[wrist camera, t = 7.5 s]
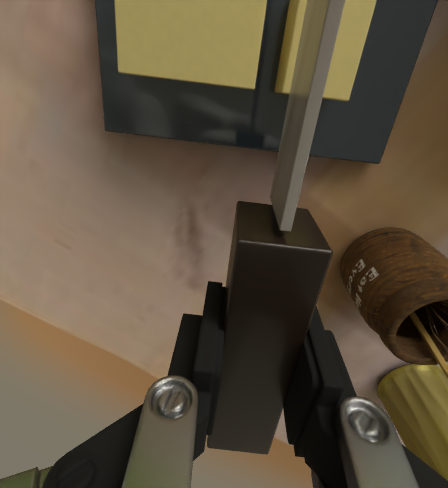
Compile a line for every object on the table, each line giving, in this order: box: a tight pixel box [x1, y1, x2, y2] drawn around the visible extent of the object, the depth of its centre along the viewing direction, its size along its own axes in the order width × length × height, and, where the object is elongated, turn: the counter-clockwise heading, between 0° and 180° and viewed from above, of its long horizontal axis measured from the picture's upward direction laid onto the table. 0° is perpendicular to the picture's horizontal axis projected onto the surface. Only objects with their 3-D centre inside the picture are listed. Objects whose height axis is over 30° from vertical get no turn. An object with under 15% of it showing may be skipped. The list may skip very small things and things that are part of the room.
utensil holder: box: [341, 228, 448, 379], centre depth 16 cm, size 6×6×12 cm
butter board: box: [95, 0, 438, 164], centre depth 15 cm, size 16×10×1 cm, turn 84°
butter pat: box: [274, 0, 377, 101], centre depth 13 cm, size 3×4×3 cm
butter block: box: [114, 0, 267, 90], centre depth 13 cm, size 6×4×3 cm, turn 84°
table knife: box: [207, 0, 346, 454], centre depth 8 cm, size 2×19×3 cm, turn 174°
